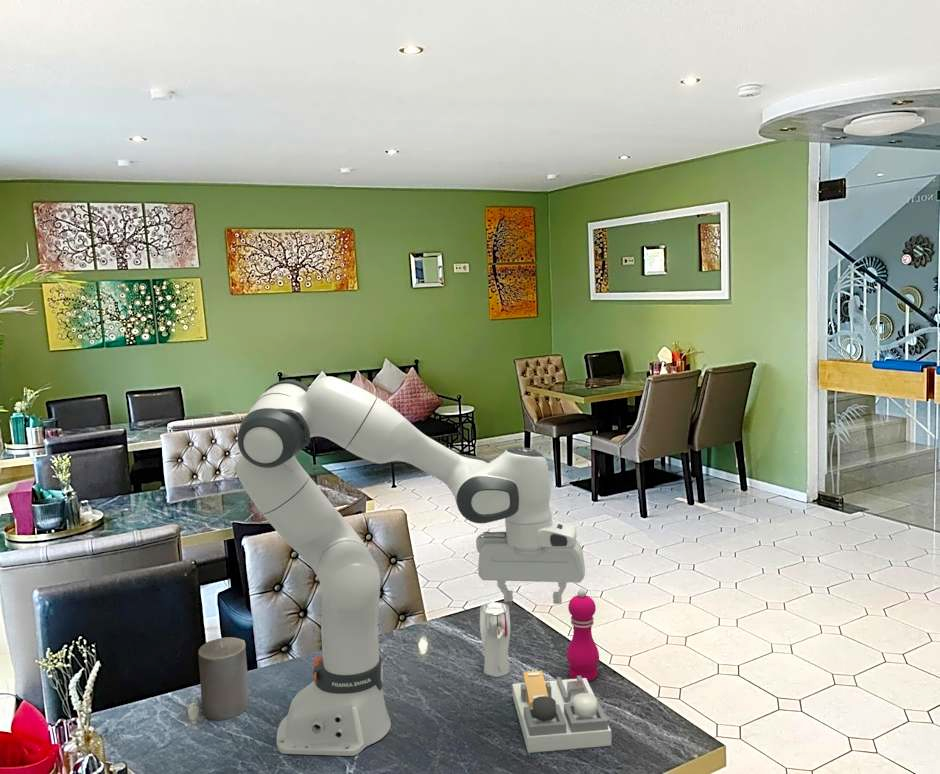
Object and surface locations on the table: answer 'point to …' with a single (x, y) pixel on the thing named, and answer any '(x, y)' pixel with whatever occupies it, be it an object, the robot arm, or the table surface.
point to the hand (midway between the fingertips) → (532, 601)
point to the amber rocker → (534, 685)
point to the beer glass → (495, 638)
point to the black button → (544, 708)
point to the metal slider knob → (574, 689)
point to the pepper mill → (582, 638)
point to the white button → (585, 705)
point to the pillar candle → (223, 678)
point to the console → (560, 721)
